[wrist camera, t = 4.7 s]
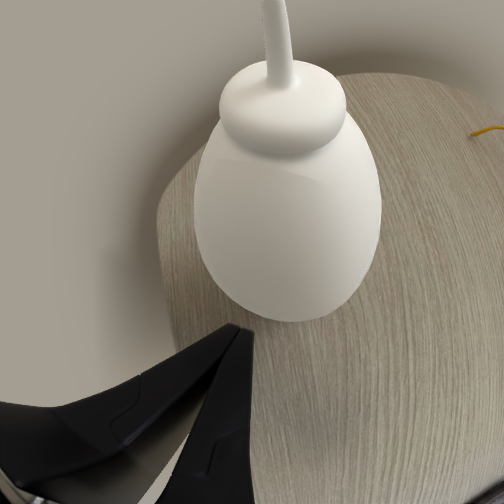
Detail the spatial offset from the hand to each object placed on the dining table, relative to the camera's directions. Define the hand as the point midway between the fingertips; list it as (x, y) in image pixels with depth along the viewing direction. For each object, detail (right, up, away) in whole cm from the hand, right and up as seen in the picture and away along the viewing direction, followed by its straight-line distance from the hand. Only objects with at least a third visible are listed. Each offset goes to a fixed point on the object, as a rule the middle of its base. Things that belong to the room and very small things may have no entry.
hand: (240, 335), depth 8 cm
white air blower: (+3, +1, +11) cm, 11 cm away
